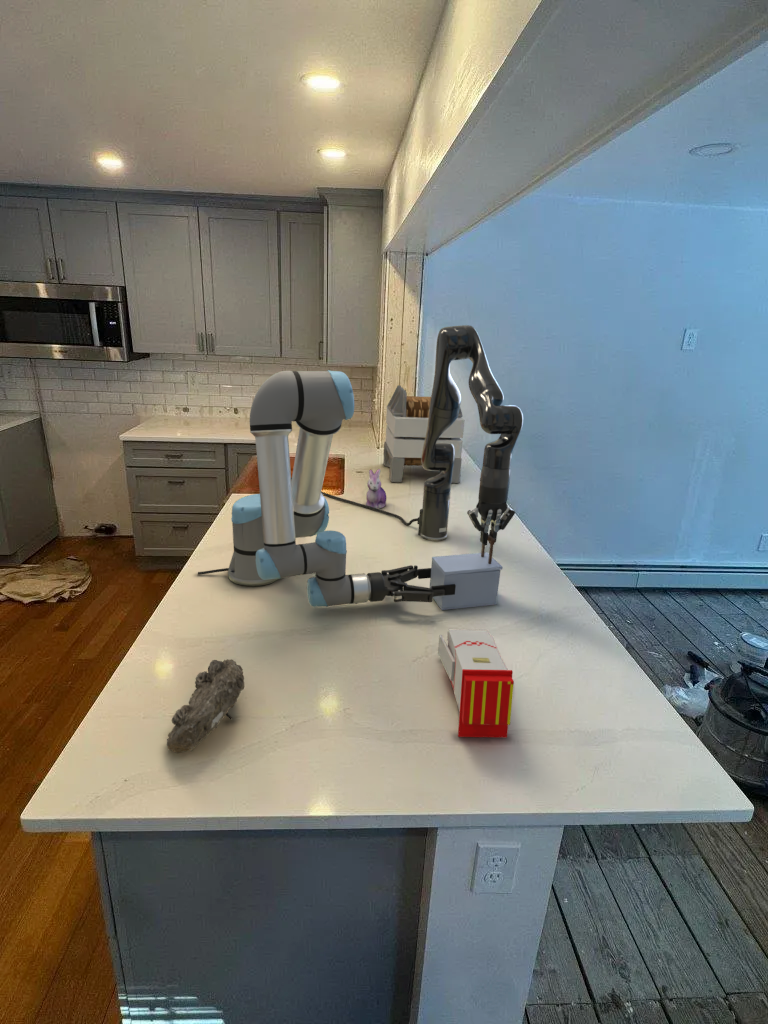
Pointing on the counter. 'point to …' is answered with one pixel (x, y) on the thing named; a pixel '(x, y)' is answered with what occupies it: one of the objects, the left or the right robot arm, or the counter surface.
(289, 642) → the counter surface
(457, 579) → the chest
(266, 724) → the counter surface
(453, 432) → the grey slatted crate
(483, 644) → the toy
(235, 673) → the fossil
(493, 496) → the right robot arm
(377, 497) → the figurine
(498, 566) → the lid
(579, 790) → the counter surface
